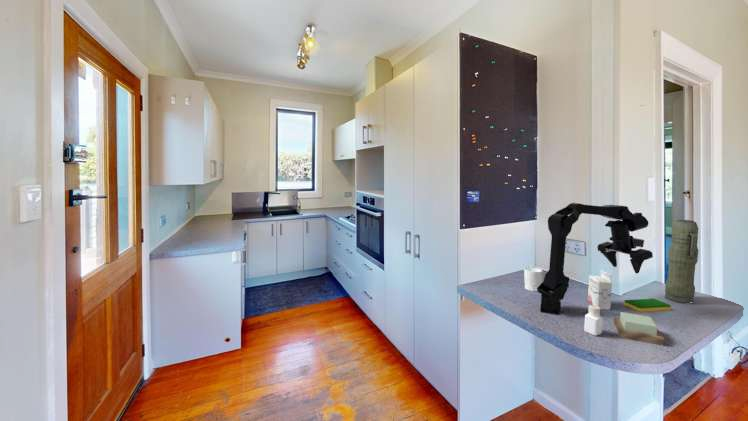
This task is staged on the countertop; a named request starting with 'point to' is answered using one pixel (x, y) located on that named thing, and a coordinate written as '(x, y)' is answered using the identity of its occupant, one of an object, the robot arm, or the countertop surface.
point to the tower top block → (638, 323)
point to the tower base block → (637, 334)
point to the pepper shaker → (593, 321)
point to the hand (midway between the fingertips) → (625, 269)
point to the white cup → (532, 278)
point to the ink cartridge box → (600, 290)
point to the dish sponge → (647, 305)
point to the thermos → (682, 262)
